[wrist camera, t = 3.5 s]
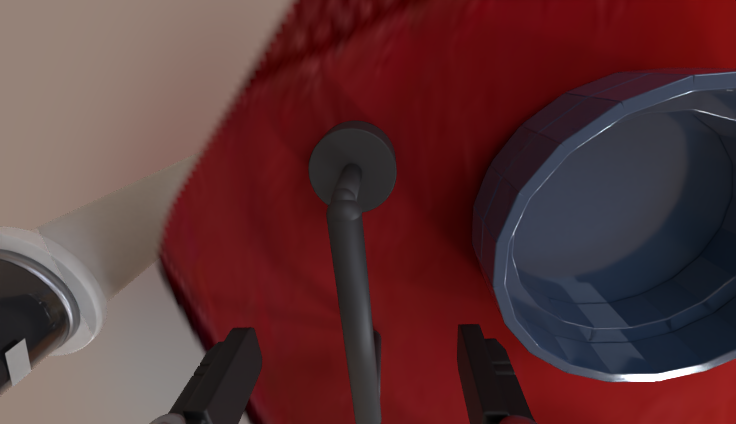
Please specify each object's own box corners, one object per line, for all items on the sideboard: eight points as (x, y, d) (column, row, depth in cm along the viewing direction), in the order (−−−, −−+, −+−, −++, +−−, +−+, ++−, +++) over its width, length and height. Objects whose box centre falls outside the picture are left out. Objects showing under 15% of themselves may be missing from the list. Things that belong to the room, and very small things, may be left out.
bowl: (465, 320, 23) (484, 384, 18) (475, 82, 17) (507, 89, 12) (705, 314, 22) (789, 380, 17) (806, 55, 16) (977, 51, 11)
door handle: (311, 123, 18) (271, 155, 12) (393, 117, 18) (397, 146, 12) (343, 341, 24) (327, 440, 18) (404, 340, 24) (410, 440, 18)
